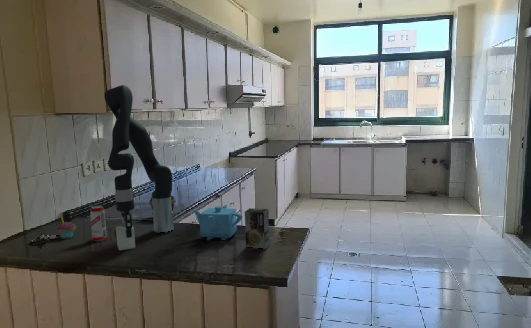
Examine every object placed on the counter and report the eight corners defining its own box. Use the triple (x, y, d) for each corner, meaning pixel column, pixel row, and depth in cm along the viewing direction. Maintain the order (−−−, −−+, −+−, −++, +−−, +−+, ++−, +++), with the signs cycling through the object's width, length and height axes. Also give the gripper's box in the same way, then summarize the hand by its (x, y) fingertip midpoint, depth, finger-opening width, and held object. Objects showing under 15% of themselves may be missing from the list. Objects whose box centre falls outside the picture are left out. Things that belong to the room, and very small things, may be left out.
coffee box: (270, 244, 174) (269, 208, 172) (265, 249, 168) (264, 212, 166) (250, 243, 177) (249, 207, 175) (245, 247, 171) (244, 211, 169)
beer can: (101, 242, 185) (99, 208, 183) (89, 241, 186) (86, 208, 184) (109, 238, 191) (107, 205, 189) (97, 237, 192) (95, 205, 190)
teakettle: (245, 238, 185) (244, 207, 183) (209, 246, 175) (207, 213, 173) (226, 229, 200) (225, 200, 199) (191, 236, 190) (190, 206, 189)
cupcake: (57, 240, 189) (55, 216, 188) (57, 236, 197) (55, 212, 195) (77, 237, 193) (75, 213, 192) (76, 233, 201) (74, 210, 199)
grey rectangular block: (133, 243, 181) (131, 224, 180) (135, 247, 175) (134, 228, 174) (117, 245, 178) (116, 226, 177) (118, 250, 172) (117, 230, 171)
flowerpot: (144, 218, 228) (142, 184, 226) (165, 212, 240) (164, 180, 238) (160, 221, 219) (158, 186, 217) (182, 215, 231) (180, 182, 229)
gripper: (136, 200, 169) (139, 237, 171) (130, 195, 182) (133, 229, 184) (117, 203, 166) (121, 240, 168) (113, 197, 179) (116, 232, 180)
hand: (127, 235), depth 176 cm, fingers open, 8 cm apart
